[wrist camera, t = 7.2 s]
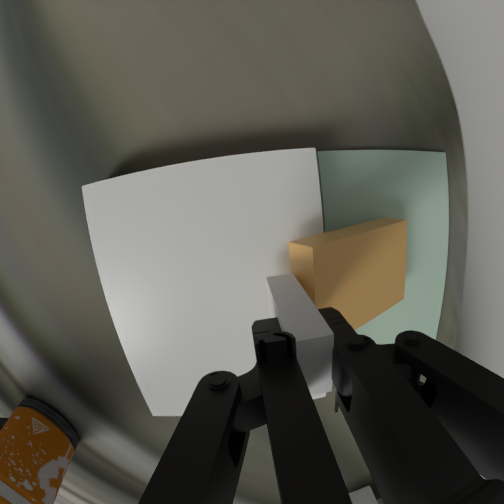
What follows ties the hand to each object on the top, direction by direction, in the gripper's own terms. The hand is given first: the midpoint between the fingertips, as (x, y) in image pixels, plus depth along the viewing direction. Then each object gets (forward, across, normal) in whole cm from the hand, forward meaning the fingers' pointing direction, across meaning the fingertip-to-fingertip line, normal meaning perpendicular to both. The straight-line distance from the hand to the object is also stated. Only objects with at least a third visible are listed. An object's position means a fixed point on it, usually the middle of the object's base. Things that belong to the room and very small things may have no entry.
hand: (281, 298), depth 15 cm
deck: (+4, -4, -1) cm, 6 cm away
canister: (+5, -30, -16) cm, 34 cm away
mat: (+4, +10, -1) cm, 11 cm away
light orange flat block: (+2, +5, 0) cm, 5 cm away
